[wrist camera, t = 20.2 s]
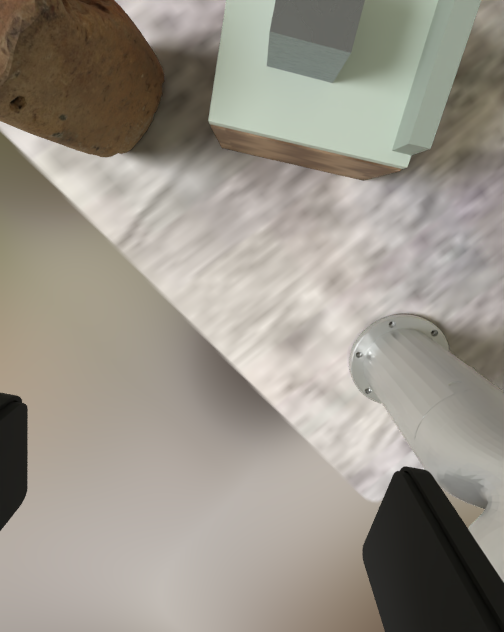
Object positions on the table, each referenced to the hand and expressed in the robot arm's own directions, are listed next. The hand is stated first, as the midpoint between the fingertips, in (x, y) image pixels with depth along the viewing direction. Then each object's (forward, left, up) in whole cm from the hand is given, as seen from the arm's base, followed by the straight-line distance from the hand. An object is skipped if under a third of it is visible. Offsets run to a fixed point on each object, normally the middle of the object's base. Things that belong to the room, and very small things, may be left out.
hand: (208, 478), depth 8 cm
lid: (-3, -19, -23) cm, 30 cm away
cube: (-1, -19, -22) cm, 29 cm away
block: (+16, -14, -34) cm, 40 cm away
